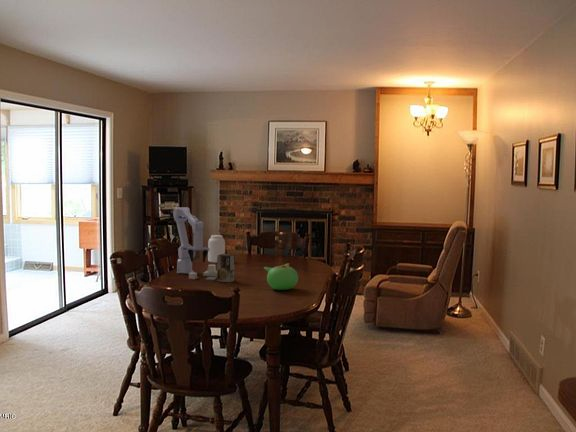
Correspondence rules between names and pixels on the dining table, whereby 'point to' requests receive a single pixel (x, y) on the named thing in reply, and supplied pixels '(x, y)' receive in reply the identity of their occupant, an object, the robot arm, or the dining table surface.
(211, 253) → the can
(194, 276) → the cable plug
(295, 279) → the green rounded lump
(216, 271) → the outlet plate
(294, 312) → the dining table surface
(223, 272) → the coffee box
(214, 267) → the charger
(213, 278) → the phone
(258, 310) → the dining table surface
